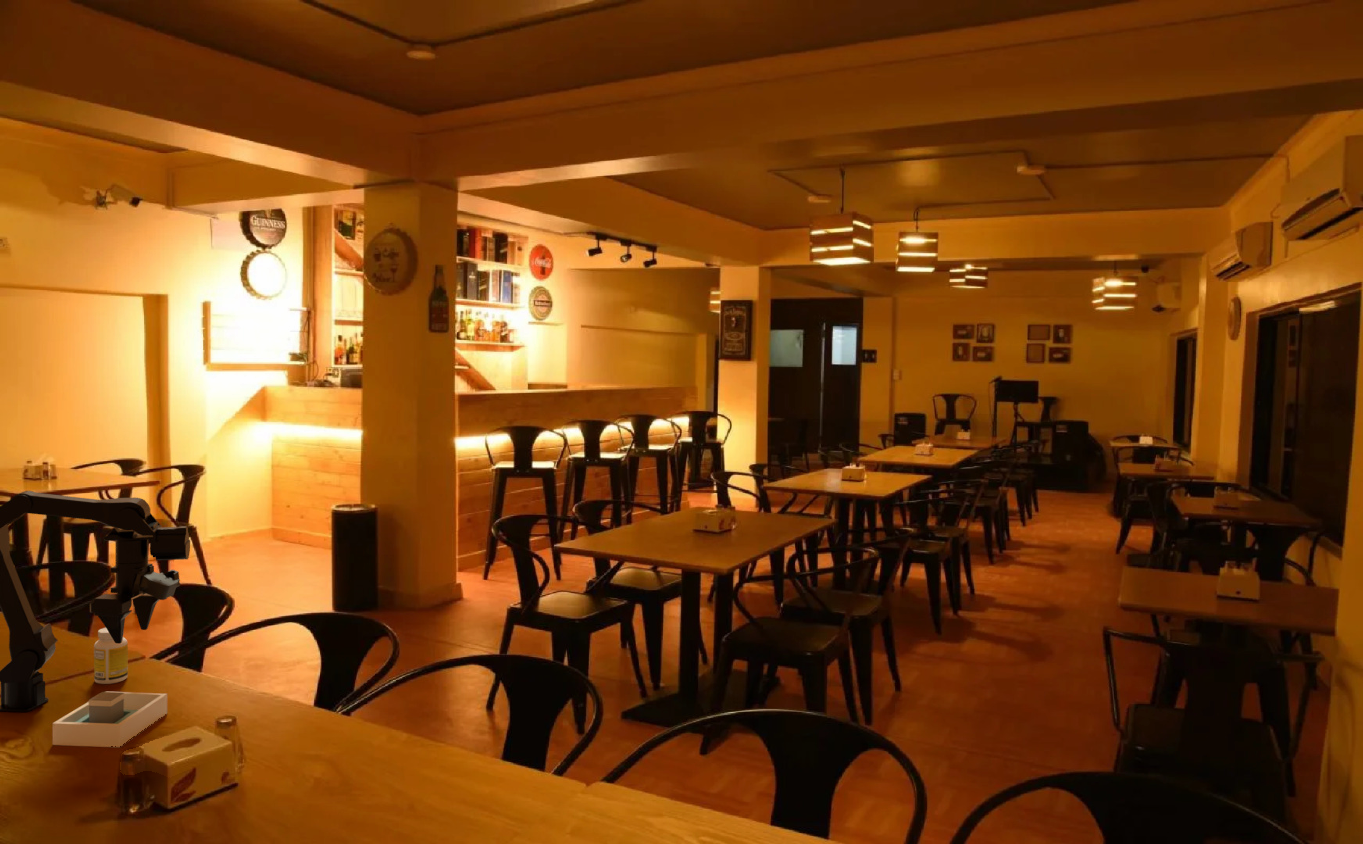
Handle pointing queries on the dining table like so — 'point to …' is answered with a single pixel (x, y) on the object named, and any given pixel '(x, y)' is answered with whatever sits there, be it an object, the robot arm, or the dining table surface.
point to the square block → (106, 707)
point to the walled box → (136, 718)
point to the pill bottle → (110, 659)
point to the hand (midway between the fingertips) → (131, 636)
